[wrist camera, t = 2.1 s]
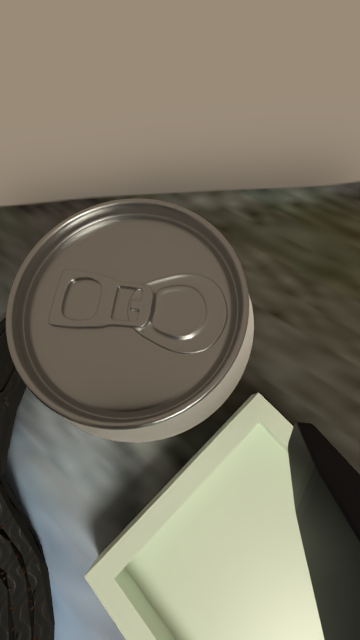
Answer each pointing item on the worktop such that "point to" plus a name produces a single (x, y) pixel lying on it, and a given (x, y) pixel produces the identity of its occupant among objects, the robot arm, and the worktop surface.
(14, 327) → the can
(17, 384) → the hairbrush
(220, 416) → the worktop surface
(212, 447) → the tray
